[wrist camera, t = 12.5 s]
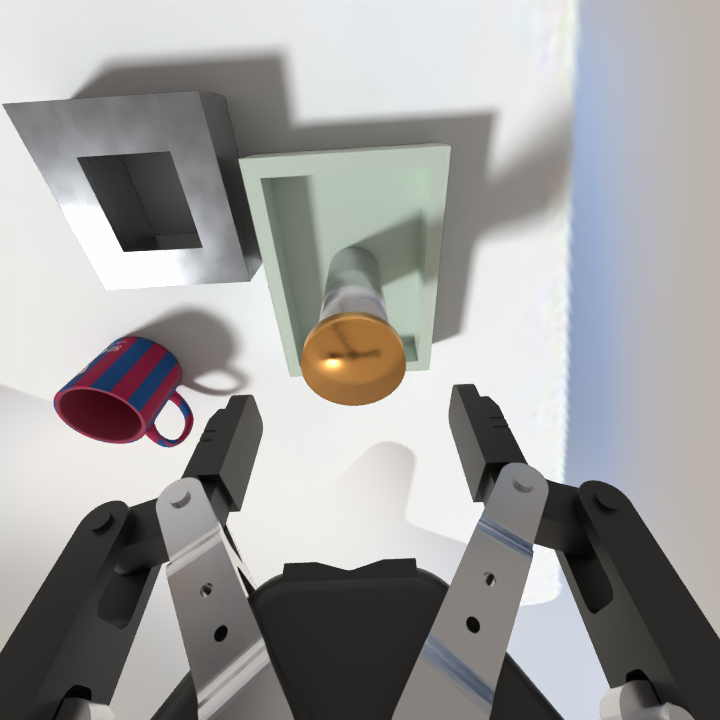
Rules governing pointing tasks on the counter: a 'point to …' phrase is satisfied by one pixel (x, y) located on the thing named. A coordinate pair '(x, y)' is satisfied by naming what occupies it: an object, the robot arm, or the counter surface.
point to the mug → (124, 394)
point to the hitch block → (119, 197)
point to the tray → (351, 232)
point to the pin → (353, 335)
